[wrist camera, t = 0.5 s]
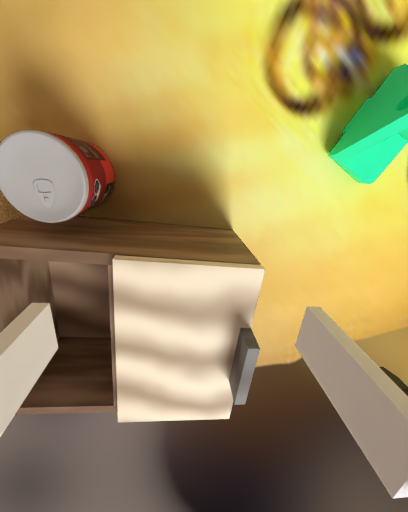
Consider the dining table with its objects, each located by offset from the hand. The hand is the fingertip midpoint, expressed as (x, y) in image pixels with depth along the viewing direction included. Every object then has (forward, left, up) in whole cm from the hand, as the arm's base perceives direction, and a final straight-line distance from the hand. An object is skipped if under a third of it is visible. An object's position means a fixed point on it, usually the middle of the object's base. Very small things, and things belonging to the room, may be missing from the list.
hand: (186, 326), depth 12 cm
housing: (+12, -6, -24) cm, 27 cm away
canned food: (-5, -13, -24) cm, 28 cm away
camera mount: (-15, +26, -24) cm, 39 cm away
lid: (+12, +1, -11) cm, 16 cm away
